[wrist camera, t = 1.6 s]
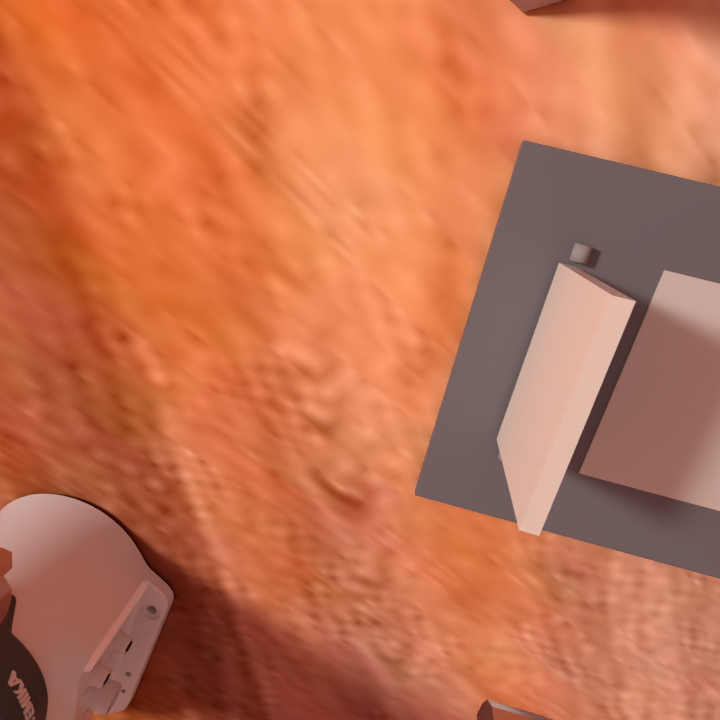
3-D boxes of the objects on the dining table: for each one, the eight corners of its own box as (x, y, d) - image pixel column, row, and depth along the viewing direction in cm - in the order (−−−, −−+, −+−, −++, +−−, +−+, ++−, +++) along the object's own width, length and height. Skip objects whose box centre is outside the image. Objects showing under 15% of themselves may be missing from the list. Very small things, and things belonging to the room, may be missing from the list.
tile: (514, 443, 36) (543, 536, 26) (496, 439, 36) (519, 530, 26) (579, 267, 32) (640, 302, 22) (559, 262, 32) (611, 295, 22)
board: (718, 571, 38) (730, 588, 36) (415, 489, 39) (414, 502, 37) (908, 233, 30) (935, 236, 28) (522, 141, 31) (527, 139, 29)
